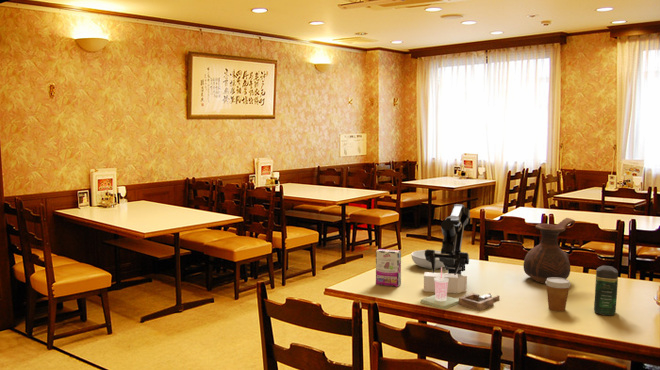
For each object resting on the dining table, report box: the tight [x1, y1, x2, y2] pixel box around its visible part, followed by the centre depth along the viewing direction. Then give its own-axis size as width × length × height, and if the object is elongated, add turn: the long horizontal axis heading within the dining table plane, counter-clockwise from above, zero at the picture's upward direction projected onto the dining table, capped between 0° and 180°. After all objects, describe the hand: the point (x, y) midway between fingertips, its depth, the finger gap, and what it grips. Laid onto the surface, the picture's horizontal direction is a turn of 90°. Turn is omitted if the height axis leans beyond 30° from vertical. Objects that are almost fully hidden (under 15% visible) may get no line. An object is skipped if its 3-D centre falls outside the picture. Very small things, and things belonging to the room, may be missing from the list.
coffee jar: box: [593, 264, 619, 316], centre depth 221 cm, size 10×8×19 cm
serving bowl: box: [410, 249, 445, 270], centre depth 294 cm, size 21×21×7 cm
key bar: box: [478, 293, 493, 302], centre depth 235 cm, size 6×3×2 cm, turn 133°
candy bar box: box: [375, 248, 402, 288], centre depth 260 cm, size 11×5×16 cm, turn 68°
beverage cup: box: [434, 267, 449, 301], centre depth 234 cm, size 6×6×14 cm
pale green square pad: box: [420, 294, 459, 310], centre depth 234 cm, size 12×12×1 cm
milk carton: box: [423, 271, 468, 294], centre depth 251 cm, size 7×7×19 cm
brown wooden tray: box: [458, 292, 500, 311], centre depth 234 cm, size 19×10×3 cm, turn 132°
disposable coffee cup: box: [544, 277, 571, 312], centre depth 225 cm, size 10×10×12 cm
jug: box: [523, 217, 576, 284], centre depth 267 cm, size 22×22×30 cm
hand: (443, 273), depth 238 cm, fingers open, 9 cm apart
